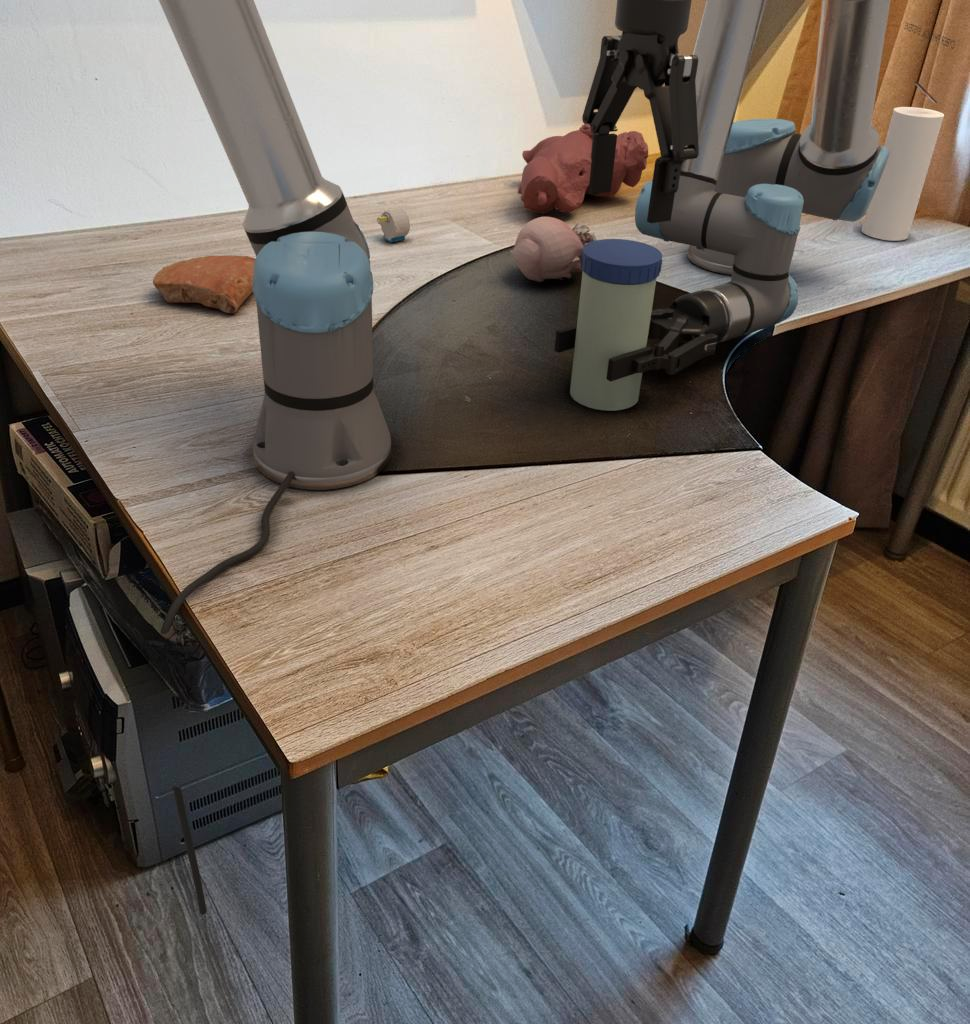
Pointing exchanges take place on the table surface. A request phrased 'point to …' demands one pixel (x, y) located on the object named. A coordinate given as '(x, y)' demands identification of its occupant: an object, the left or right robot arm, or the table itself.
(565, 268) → the toy
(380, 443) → the left robot arm
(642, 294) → the jar
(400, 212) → the electric motor
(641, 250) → the lid
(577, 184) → the reddish brown figurine
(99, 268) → the table surface
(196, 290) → the ceramic shard
